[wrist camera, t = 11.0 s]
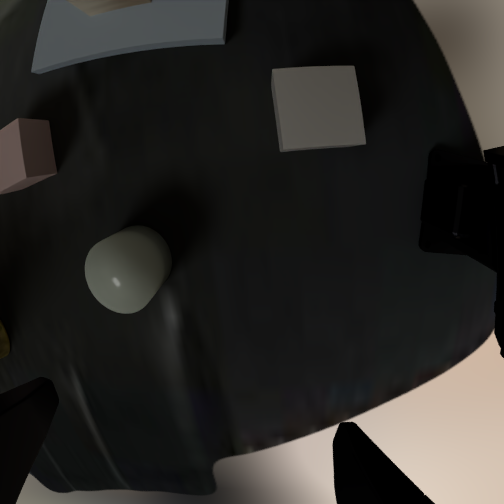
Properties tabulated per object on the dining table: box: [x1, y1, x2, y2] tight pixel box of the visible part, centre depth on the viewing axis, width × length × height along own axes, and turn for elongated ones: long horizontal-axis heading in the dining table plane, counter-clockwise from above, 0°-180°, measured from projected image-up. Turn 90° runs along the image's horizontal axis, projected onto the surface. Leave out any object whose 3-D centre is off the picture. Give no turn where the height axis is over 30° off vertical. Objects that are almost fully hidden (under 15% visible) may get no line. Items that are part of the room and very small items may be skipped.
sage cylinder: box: [85, 225, 172, 313], centre depth 18 cm, size 4×4×4 cm
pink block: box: [0, 118, 57, 194], centre depth 16 cm, size 4×4×4 cm
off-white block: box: [271, 66, 366, 152], centre depth 15 cm, size 4×4×4 cm
